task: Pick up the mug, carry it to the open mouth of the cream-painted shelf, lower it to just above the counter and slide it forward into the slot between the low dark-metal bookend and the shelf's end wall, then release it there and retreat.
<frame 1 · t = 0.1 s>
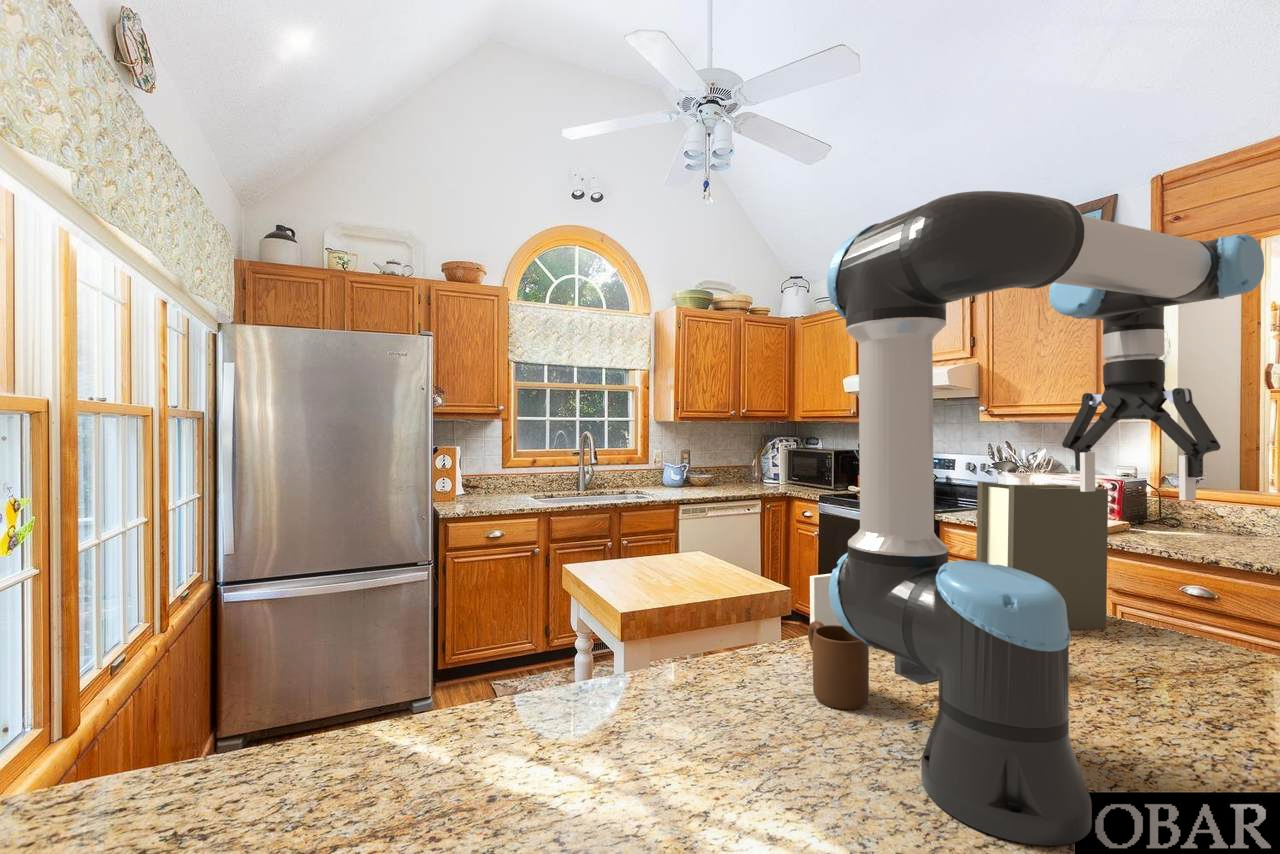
hand: (1134, 495, 94), 28 cm above the countertop, fingers open, 13 cm apart
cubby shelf: (888, 651, 104), on the countertop
mug: (832, 693, 88), on the countertop
book: (1042, 625, 118), on the countertop
bookend: (925, 667, 97), on the countertop
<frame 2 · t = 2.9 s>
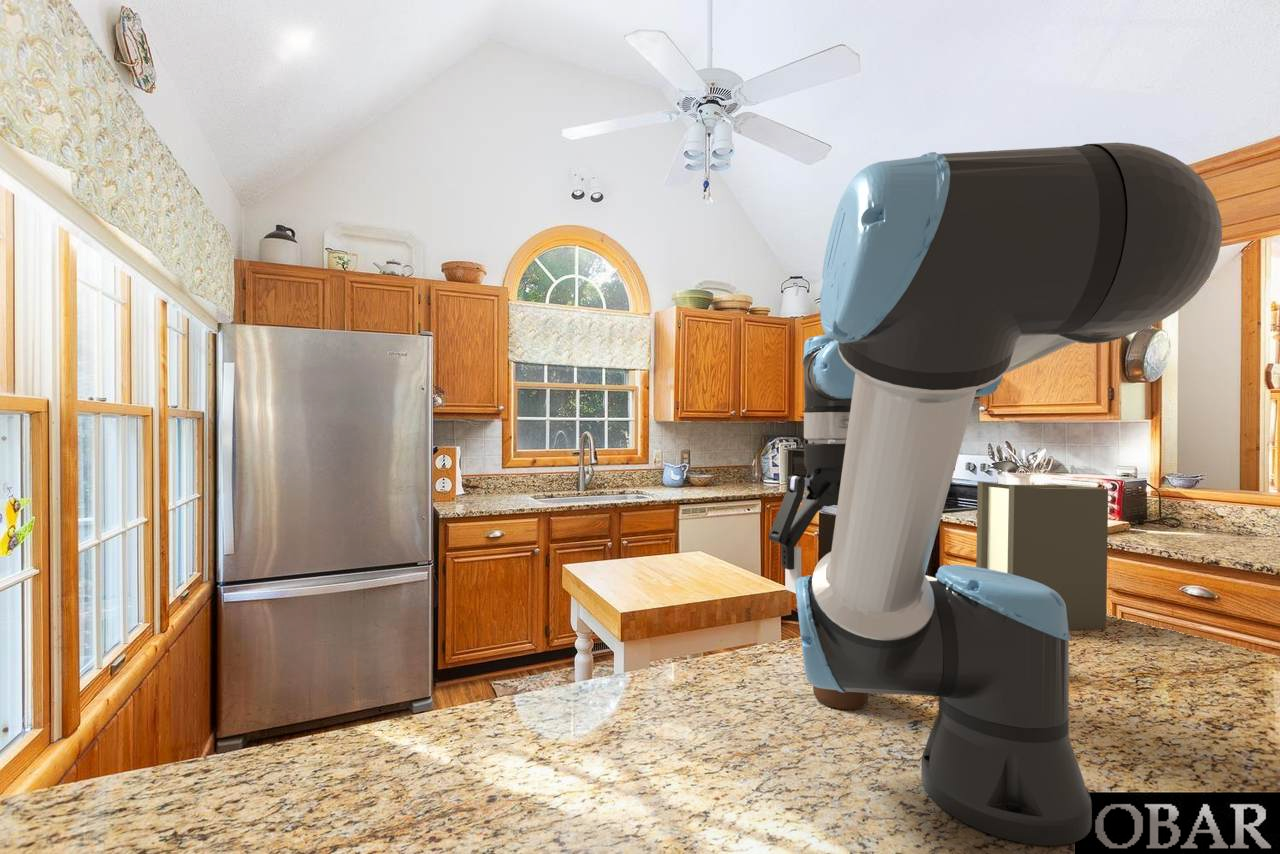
hand: (831, 586, 88), 15 cm above the countertop, fingers open, 13 cm apart
nothing on the countertop moved.
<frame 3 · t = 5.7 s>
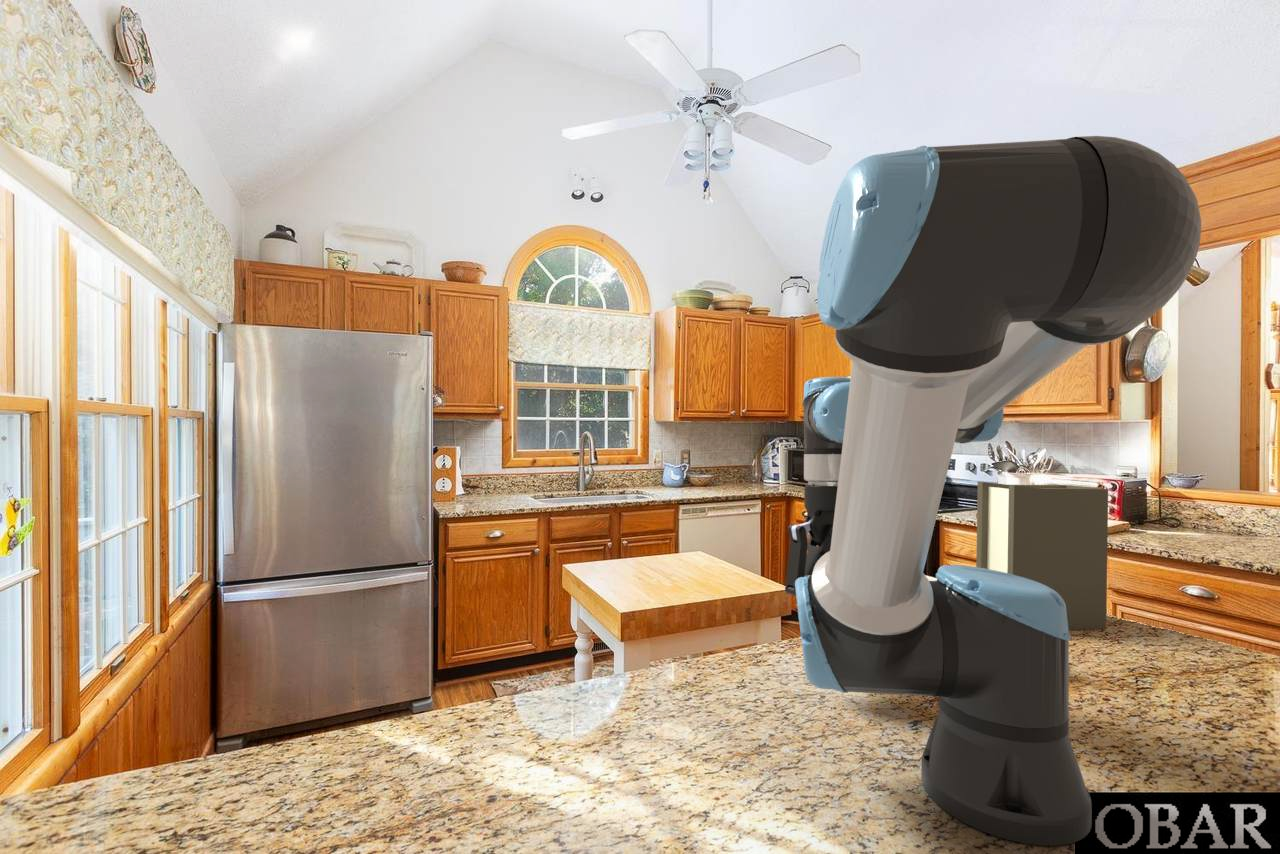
hand: (832, 640, 87), 8 cm above the countertop, fingers closed on mug, 7 cm apart
mug: (834, 644, 87), point 7 cm above the countertop, touching gripper
everything else where it was.
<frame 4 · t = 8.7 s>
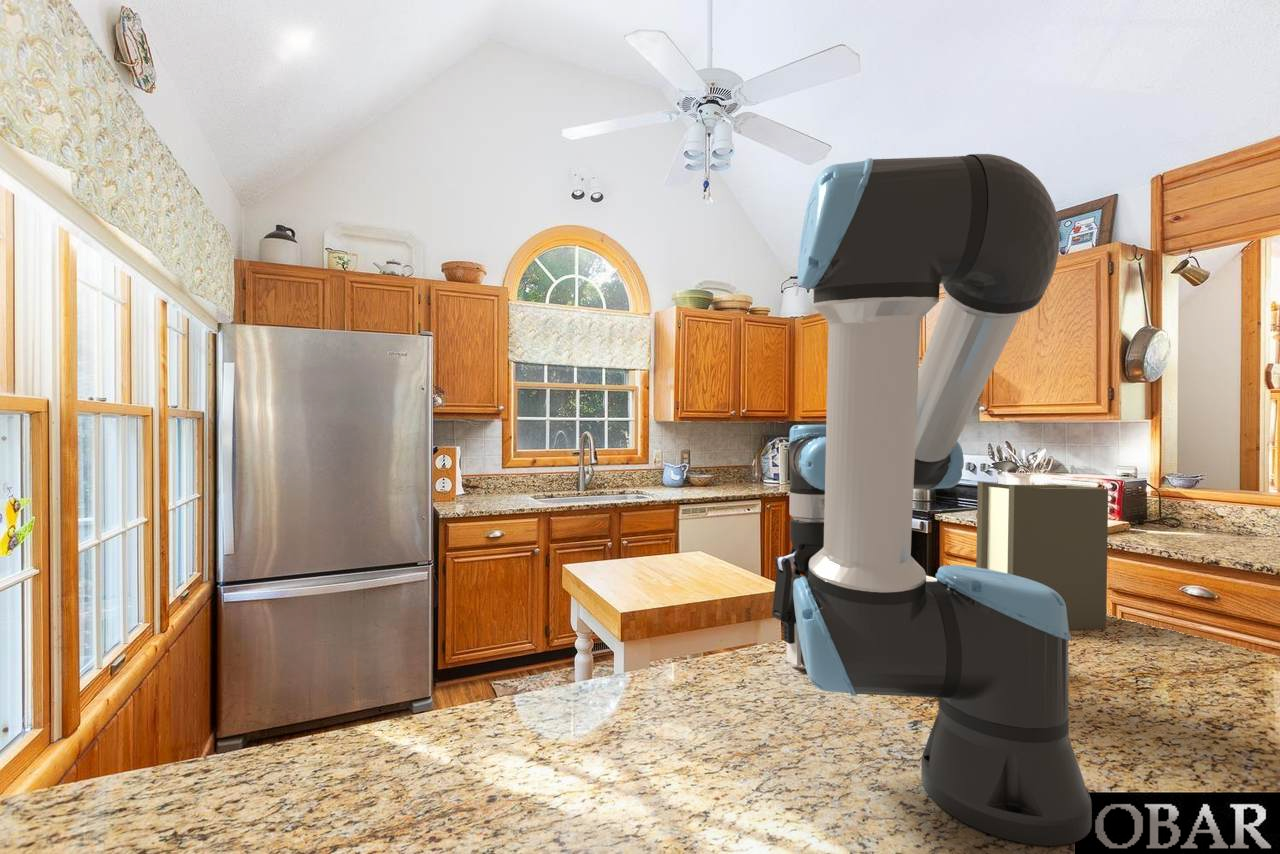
hand: (814, 658, 98), 1 cm above the countertop, fingers closed on mug, 7 cm apart
mug: (816, 660, 98), point 1 cm above the countertop, touching gripper
everything else where it was.
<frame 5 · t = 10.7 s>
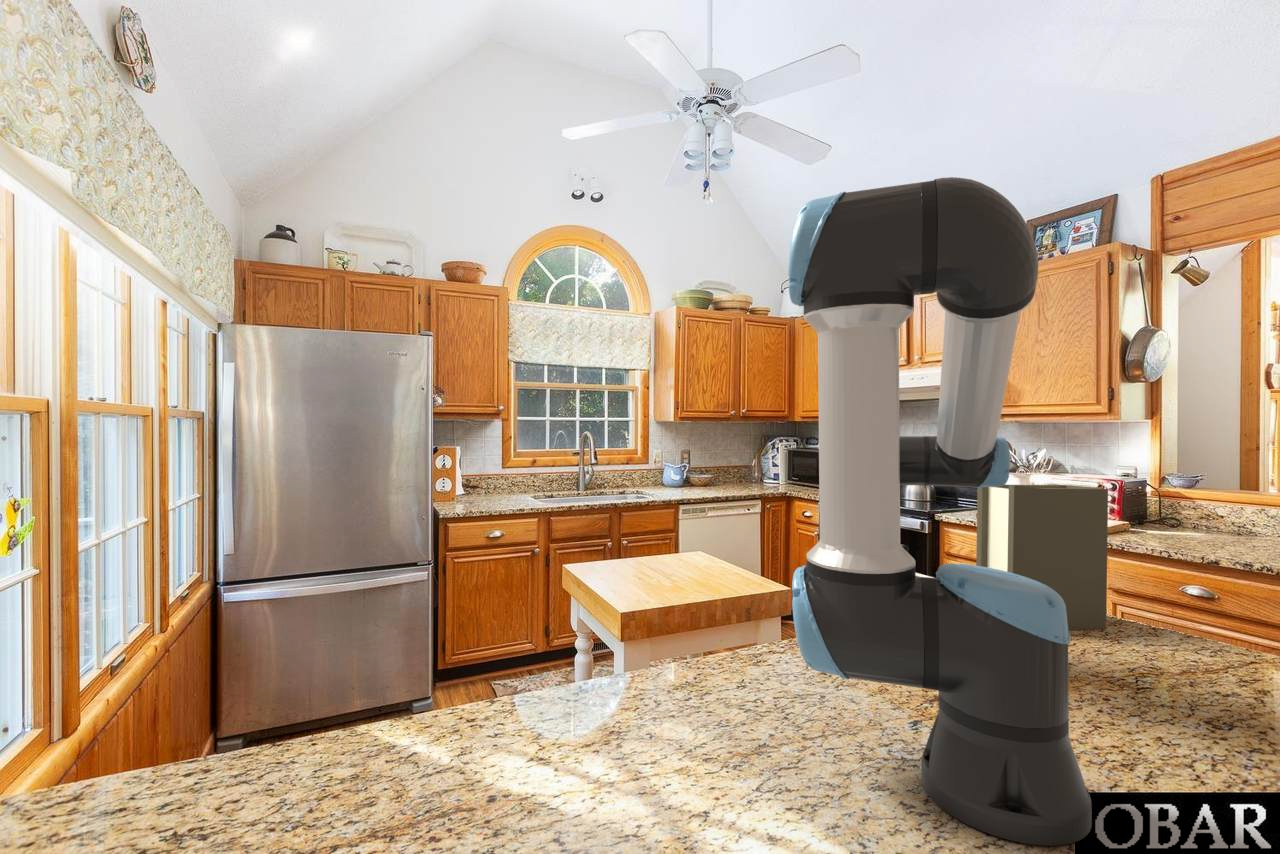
hand: (875, 646, 103), 1 cm above the countertop, fingers closed on mug, 7 cm apart
mug: (876, 648, 103), point 1 cm above the countertop, touching gripper
everything else where it was.
when the fingers open (1 cm above the countertop, at t = 12.0 s): mug stays where it is, on the countertop.
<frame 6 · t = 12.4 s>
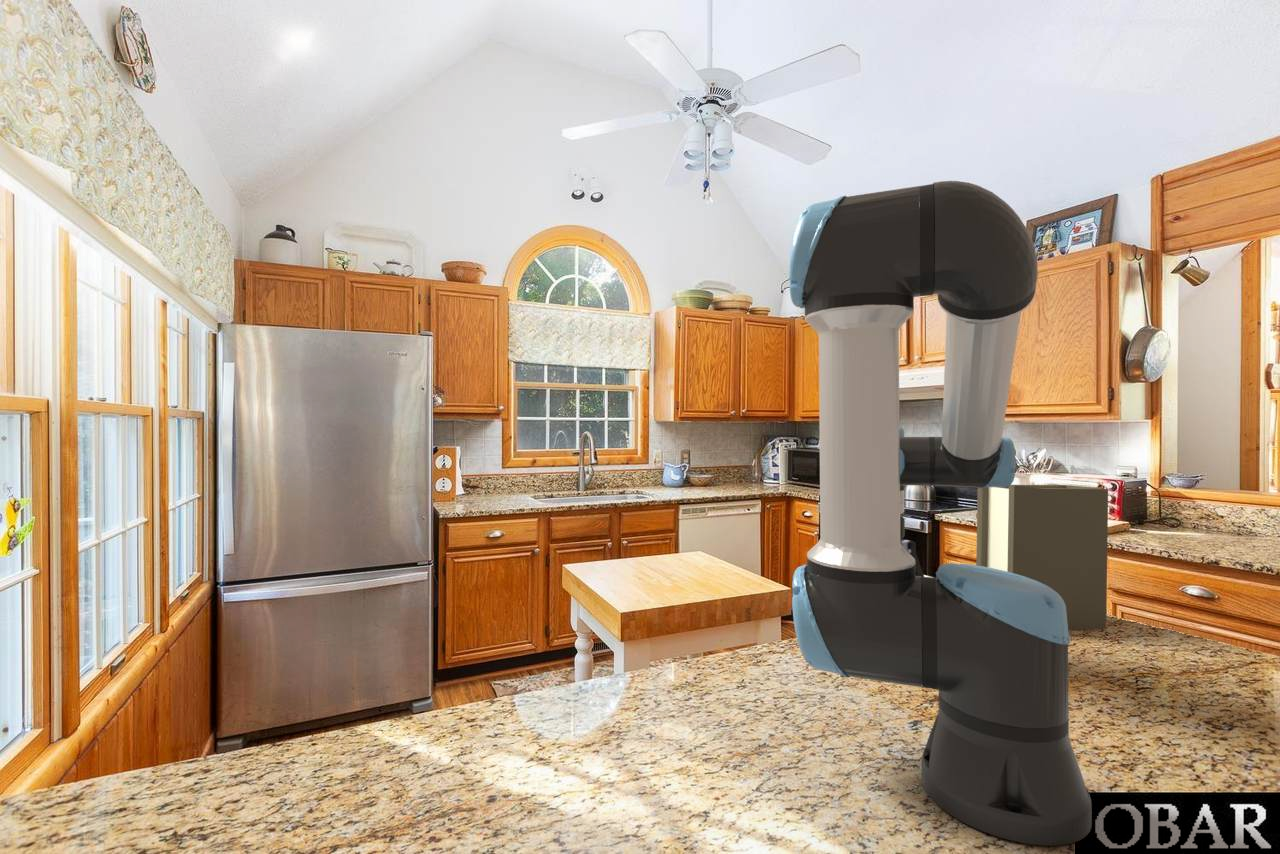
hand: (880, 638, 104), 2 cm above the countertop, fingers open, 12 cm apart
mug: (884, 653, 104), on the countertop
everything else where it was.
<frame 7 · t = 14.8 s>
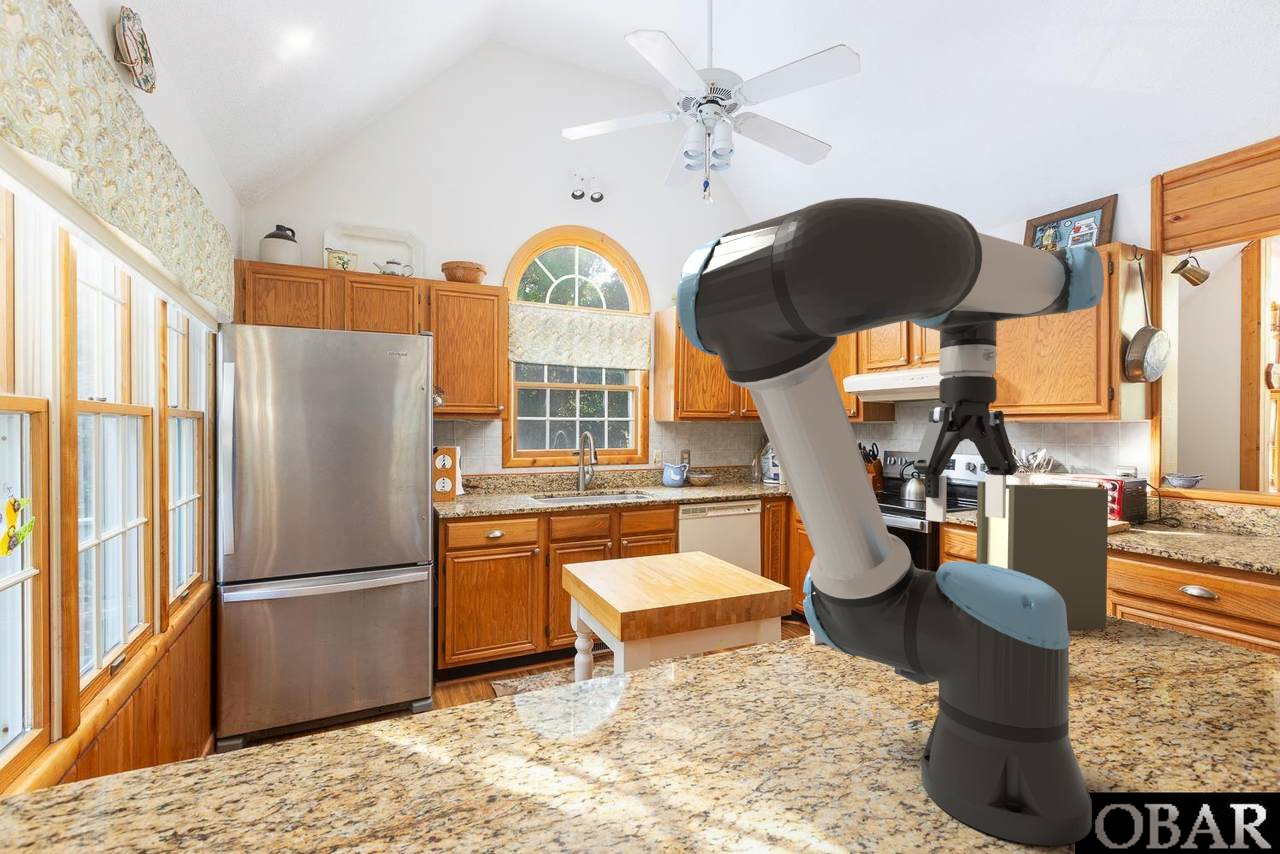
hand: (966, 519, 89), 25 cm above the countertop, fingers open, 13 cm apart
nothing on the countertop moved.
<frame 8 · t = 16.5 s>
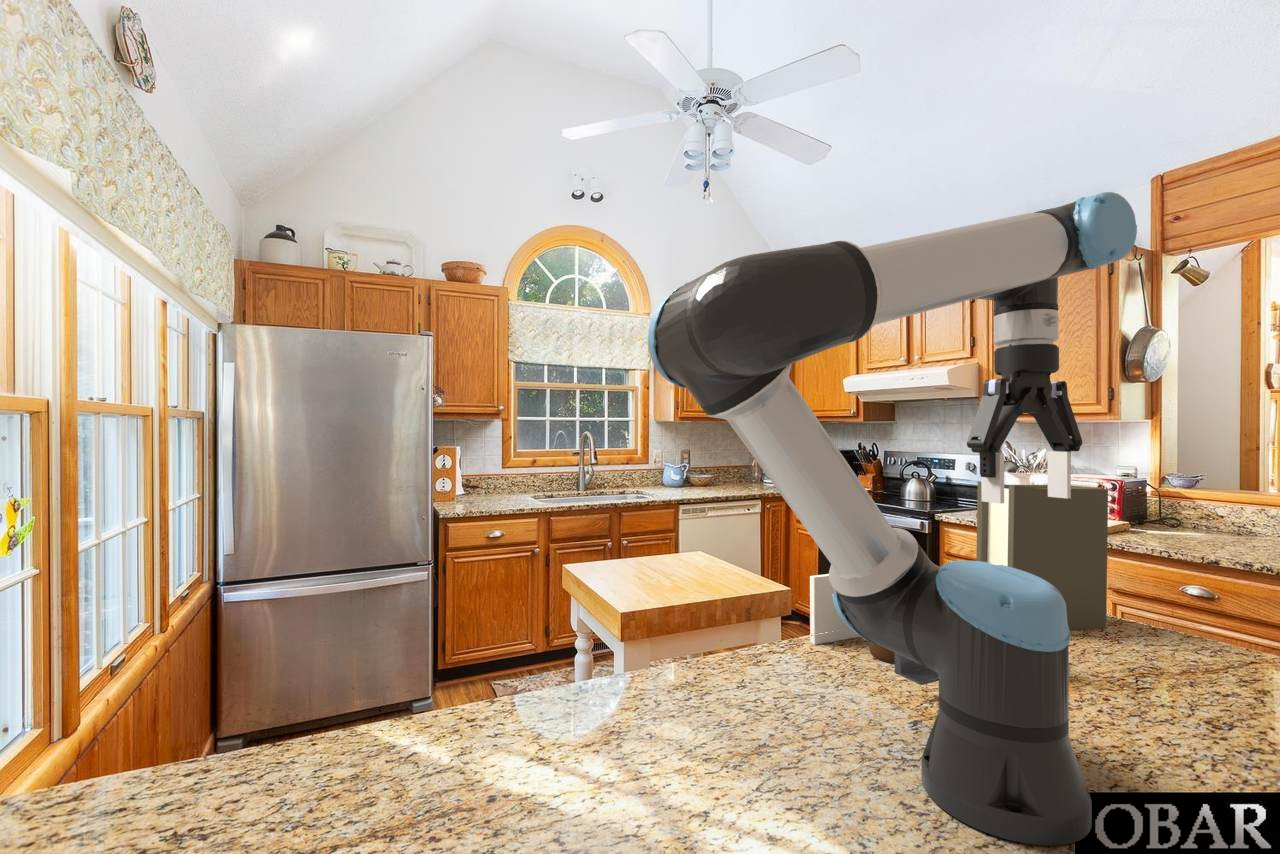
hand: (1027, 500, 82), 29 cm above the countertop, fingers open, 13 cm apart
nothing on the countertop moved.
at the end: mug inside the target area (0.4 cm from its centre), on the countertop; mug tilted 0°; the gripper is holding nothing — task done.
